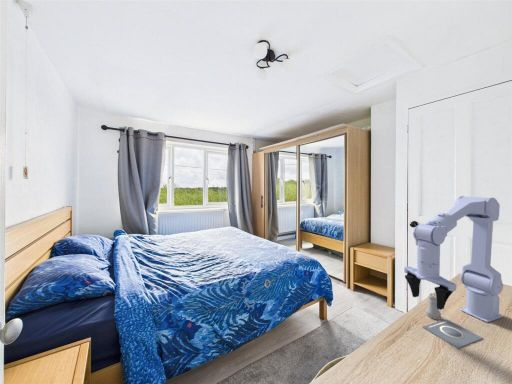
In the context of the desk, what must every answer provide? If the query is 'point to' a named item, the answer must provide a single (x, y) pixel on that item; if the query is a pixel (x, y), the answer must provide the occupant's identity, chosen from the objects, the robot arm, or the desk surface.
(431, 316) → the rook chess piece
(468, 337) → the grey base plate
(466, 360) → the desk surface
